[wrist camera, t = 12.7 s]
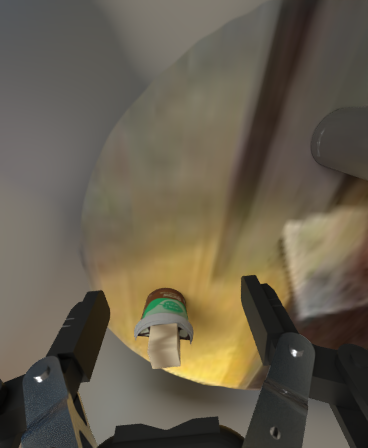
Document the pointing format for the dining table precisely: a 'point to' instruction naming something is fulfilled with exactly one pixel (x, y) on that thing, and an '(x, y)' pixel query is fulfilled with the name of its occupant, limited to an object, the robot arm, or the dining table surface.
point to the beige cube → (164, 346)
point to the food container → (165, 313)
